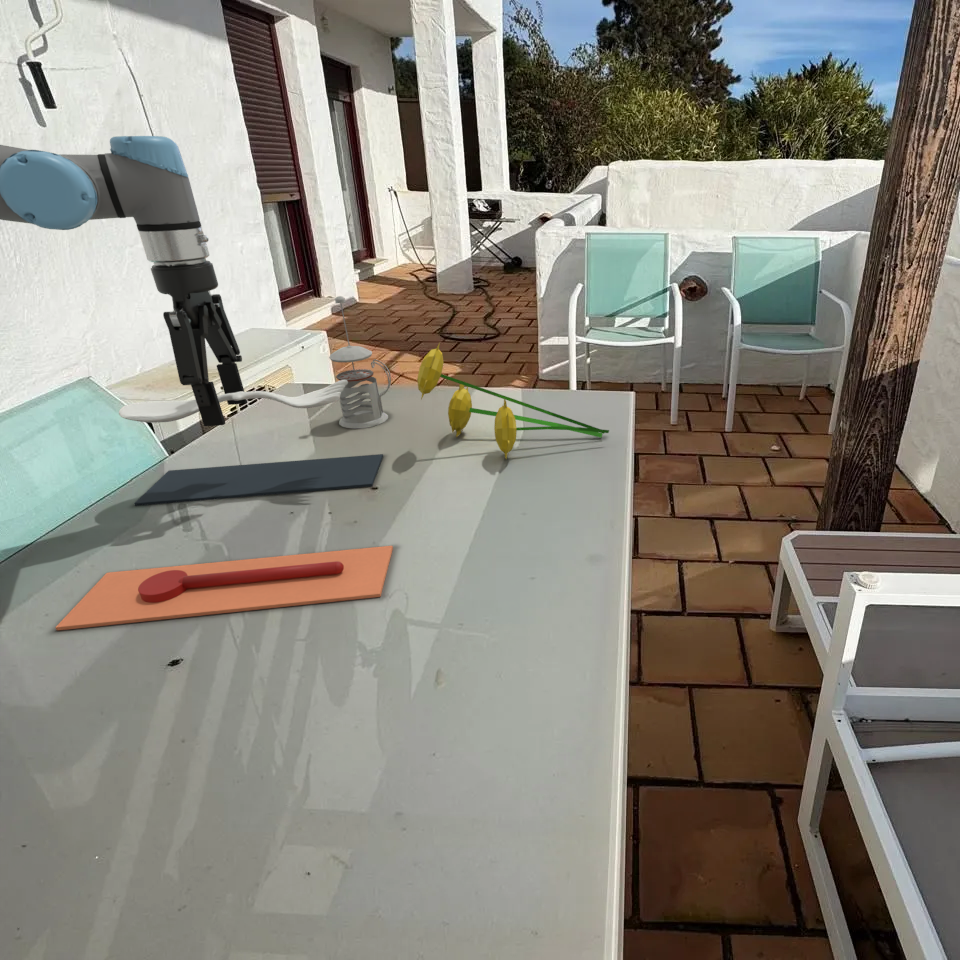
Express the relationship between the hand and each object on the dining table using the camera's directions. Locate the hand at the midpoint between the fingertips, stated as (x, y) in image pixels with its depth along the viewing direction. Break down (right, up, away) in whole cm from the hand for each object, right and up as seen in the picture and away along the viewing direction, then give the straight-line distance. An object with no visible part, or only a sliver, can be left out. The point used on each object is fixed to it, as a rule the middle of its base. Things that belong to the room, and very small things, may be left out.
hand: (226, 413), depth 99 cm
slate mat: (+2, -10, +8) cm, 13 cm away
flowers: (+42, -3, +21) cm, 47 cm away
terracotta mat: (+13, -24, -19) cm, 33 cm away
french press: (+10, +2, +33) cm, 34 cm away
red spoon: (+13, -23, -19) cm, 33 cm away
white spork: (+2, 0, +1) cm, 2 cm away
